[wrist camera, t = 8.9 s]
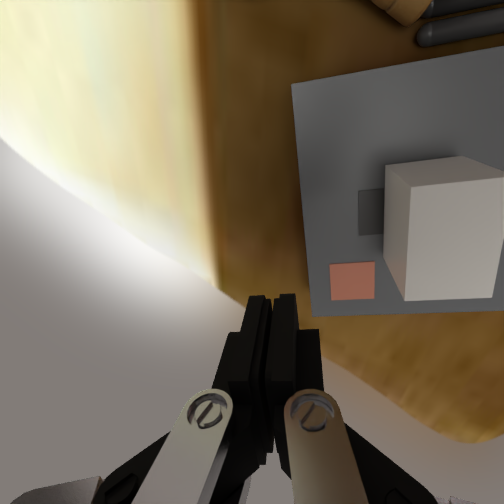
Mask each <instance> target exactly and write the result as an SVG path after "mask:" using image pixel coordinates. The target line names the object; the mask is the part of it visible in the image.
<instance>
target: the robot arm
mask: <svg viewBox="0 0 504 504" xmlns="http://www.w3.org/2000/svg"><path fill="white" fill-rule="evenodd" d="M274 438H275V443H276V448H277V453H279V458H280V463H281V469H282V470H283V471H284V472H285V473H286V474H287V476H288V477H289V478H290V479H291V480H292V486H293V495H294V504H476V503H472V502H469V501H465V500H462V499H458V498H455V497H451V496H450V501H449V500H445V499H442V498H438V497H435V496H433V495H432V494H431V493H430V492H429V491H428V490H427V489H426V488H425V487H424V486H422V485H421V484H420V483H419V482H418V481H416V480H415V479H414V478H413V477H411V476H410V475H409V474H408V473H406V472H405V471H404V470H403V469H402V468H400V467H399V466H398V465H397V464H395V463H394V462H393V461H392V460H390V459H389V458H388V457H387V456H385V455H384V454H383V453H381V452H380V451H379V450H378V449H377V448H375V447H374V446H373V445H372V444H370V443H369V442H368V441H367V440H365V439H364V438H363V437H362V436H360V435H359V434H358V433H357V432H355V431H354V430H353V429H352V428H350V427H349V426H348V425H347V424H345V423H344V421H343V418H342V415H341V412H340V409H339V406H338V404H337V402H336V401H335V400H334V399H333V398H332V397H331V396H330V395H329V394H327V393H325V392H324V387H323V374H322V361H321V350H320V338H319V329H305V330H299V322H298V313H297V305H296V296H295V293H293V294H280V298H275V299H274V305H273V311H272V304H271V299H266V298H265V296H264V295H258V296H249V299H248V303H247V307H246V311H245V315H244V319H243V322H242V326H241V330H240V332H230V333H229V334H228V336H227V340H226V343H225V346H224V349H223V353H222V356H221V359H220V363H219V366H218V369H217V372H216V375H215V379H214V382H213V385H212V388H211V389H208V390H204V391H201V392H200V393H197V394H196V395H194V396H193V397H192V398H191V399H189V400H188V402H187V403H186V405H185V406H184V408H183V409H182V411H181V413H180V415H179V417H178V419H177V421H176V423H175V424H174V426H173V428H172V430H171V431H170V432H169V433H167V434H166V435H164V436H163V437H161V438H160V439H158V440H157V441H156V442H154V443H153V444H151V445H150V446H148V447H147V448H146V449H144V450H143V451H141V452H140V453H139V454H137V455H136V456H134V457H133V458H132V459H130V460H129V461H127V462H126V463H124V464H123V465H122V466H120V467H119V468H117V469H116V470H115V471H113V472H112V473H111V474H110V475H109V476H108V477H107V478H106V479H101V477H100V476H96V477H91V478H86V479H82V480H77V481H72V482H67V483H63V484H57V485H53V486H48V487H43V488H38V489H34V490H31V491H28V492H26V493H24V494H22V495H21V496H19V497H18V498H16V499H15V500H13V502H12V503H10V504H245V503H246V499H247V496H248V492H249V488H250V482H251V475H252V473H254V472H255V471H256V470H257V469H258V468H259V465H265V464H266V456H267V453H272V452H273V445H274Z"/></svg>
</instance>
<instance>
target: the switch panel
mask: <svg viewBox="0 0 504 504" xmlns="http://www.w3.org/2000/svg"><path fill="white" fill-rule="evenodd" d="M501 3H504V0H432V2H431V3H430V5H429V6H428V8H427V9H426V10H425V12H424V13H423V14H422V15H421V17H423V18H433V17H438V16H442V15H447V14H452V13H457V12H462V11H467V10H472V9H477V8H481V7H486V6H491V5H496V4H501ZM502 32H504V7H501V8H497V9H492V10H487V11H482V12H477V13H472V14H467V15H462V16H457V17H452V18H447V19H442V20H437V21H432V22H428V23H426V24H424V25H423V26H422V27H421V28H420V29H419V31H418V33H417V42H418V44H419V45H420V46H423V47H428V46H433V45H439V44H444V43H449V42H455V41H460V40H465V39H470V38H476V37H481V36H486V35H492V34H497V33H502ZM291 88H292V99H293V110H294V121H295V132H296V143H297V154H298V165H299V176H300V187H301V198H302V209H303V220H304V231H305V242H306V253H307V264H308V275H309V286H310V297H311V308H312V317H317V316H348V315H380V314H411V313H442V312H474V311H504V239H503V244H502V250H501V255H500V260H499V265H498V270H497V275H496V280H495V285H494V290H493V295H492V298H472V299H447V300H422V301H404V299H403V297H402V295H401V293H400V291H399V289H398V287H397V285H396V283H395V281H394V279H393V276H392V274H391V272H390V270H389V268H388V266H387V264H386V262H385V260H384V258H383V245H384V201H385V165H390V164H399V163H407V162H415V161H423V160H431V159H440V158H448V157H456V156H464V157H467V158H470V159H472V160H475V161H478V162H480V163H483V164H485V165H488V166H491V167H493V168H496V169H499V170H501V171H504V46H500V47H494V48H489V49H483V50H477V51H472V52H466V53H461V54H455V55H450V56H444V57H439V58H433V59H428V60H422V61H417V62H411V63H406V64H400V65H395V66H389V67H384V68H378V69H373V70H367V71H361V72H356V73H350V74H345V75H339V76H334V77H328V78H323V79H317V80H312V81H306V82H301V83H295V84H291Z"/></svg>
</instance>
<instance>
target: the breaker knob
mask: <svg viewBox="0 0 504 504" xmlns="http://www.w3.org/2000/svg"><path fill="white" fill-rule="evenodd" d="M503 239H504V171H501V170H499V169H496V168H493V167H491V166H488V165H485V164H483V163H480V162H478V161H475V160H472V159H470V158H467V157H464V156H456V157H448V158H440V159H431V160H423V161H415V162H407V163H399V164H390V165H385V201H384V245H383V258H384V260H385V262H386V264H387V266H388V268H389V270H390V272H391V274H392V276H393V279H394V281H395V283H396V285H397V287H398V289H399V291H400V293H401V295H402V297H403V299H404V301H422V300H447V299H472V298H492V295H493V290H494V285H495V280H496V275H497V270H498V265H499V260H500V255H501V250H502V244H503Z"/></svg>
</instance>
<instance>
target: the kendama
mask: <svg viewBox="0 0 504 504" xmlns="http://www.w3.org/2000/svg"><path fill="white" fill-rule="evenodd" d="M370 1H372V2H373V3H374V4H375V5H377V6H378V7H379V8H381V9H383V10H386V13H387V14H389V15H390V16H391V17H393V18H394V19H395V20H397V21H398V22H399V23H400V24H401V25H403V26H405V27H409V26H410V25H412V24H413V23H414V22H416V21H417V20H418V19H419V18H420V16H421V15H422V14H423V13H424V12H425V10H426V9H427V8H428V6H429V5H430V3H431V2H432V0H370Z"/></svg>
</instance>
